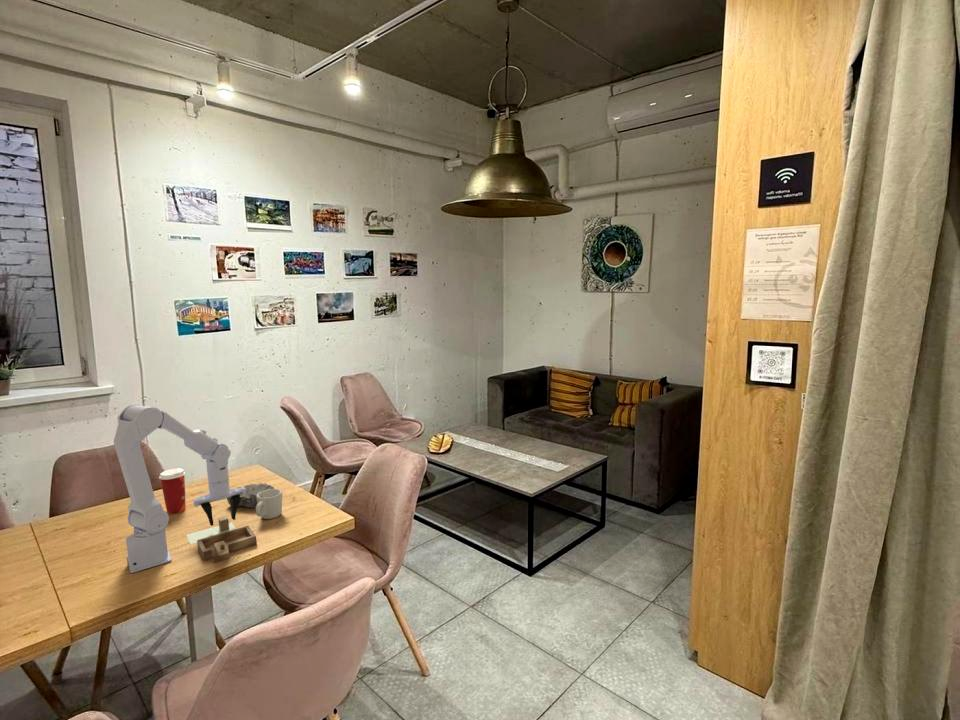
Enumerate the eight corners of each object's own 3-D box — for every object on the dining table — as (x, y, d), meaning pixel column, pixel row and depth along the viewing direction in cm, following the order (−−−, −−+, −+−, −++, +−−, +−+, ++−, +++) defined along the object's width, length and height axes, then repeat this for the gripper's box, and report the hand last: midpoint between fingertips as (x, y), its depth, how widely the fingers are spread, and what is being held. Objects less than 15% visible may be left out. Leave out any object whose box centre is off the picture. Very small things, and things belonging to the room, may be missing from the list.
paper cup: (193, 508, 174) (189, 470, 172) (170, 517, 168) (165, 477, 166) (181, 504, 178) (177, 466, 176) (158, 512, 172) (154, 473, 170)
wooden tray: (205, 565, 137) (204, 553, 136) (197, 548, 146) (196, 537, 145) (259, 548, 145) (258, 537, 145) (248, 533, 155) (247, 523, 154)
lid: (190, 546, 149) (189, 533, 148) (186, 536, 155) (184, 523, 154) (237, 532, 157) (236, 519, 156) (231, 523, 163) (230, 511, 162)
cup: (269, 526, 159) (267, 502, 158) (247, 524, 161) (245, 500, 160) (288, 511, 170) (287, 489, 169) (268, 510, 171) (266, 487, 170)
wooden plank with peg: (219, 555, 135) (218, 548, 135) (214, 547, 140) (213, 539, 139) (228, 552, 136) (227, 545, 136) (223, 544, 141) (223, 537, 141)
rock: (282, 499, 181) (252, 495, 186) (281, 482, 180) (250, 478, 186) (255, 513, 169) (223, 507, 175) (253, 494, 169) (221, 490, 174)
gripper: (194, 490, 148) (199, 533, 150) (246, 478, 157) (250, 518, 159) (190, 483, 154) (194, 525, 155) (241, 472, 162) (244, 511, 164)
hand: (222, 521), depth 157 cm, fingers open, 6 cm apart
